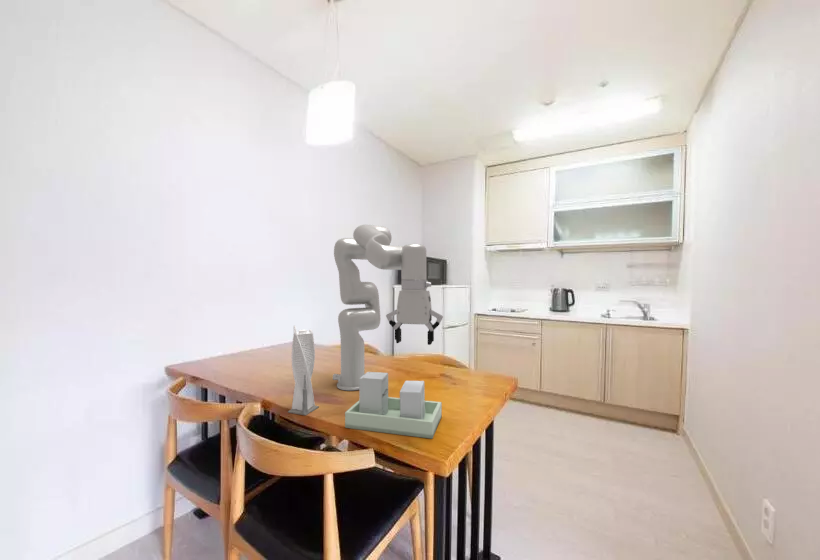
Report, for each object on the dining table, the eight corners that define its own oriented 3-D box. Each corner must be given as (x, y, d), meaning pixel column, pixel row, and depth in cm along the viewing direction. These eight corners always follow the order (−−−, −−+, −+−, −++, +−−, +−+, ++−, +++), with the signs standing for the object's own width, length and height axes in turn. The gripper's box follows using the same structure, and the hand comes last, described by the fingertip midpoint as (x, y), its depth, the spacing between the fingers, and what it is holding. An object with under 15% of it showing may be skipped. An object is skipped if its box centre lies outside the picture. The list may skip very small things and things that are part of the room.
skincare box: (405, 412, 104) (405, 379, 104) (425, 413, 103) (425, 380, 103) (399, 427, 93) (398, 390, 93) (421, 429, 92) (421, 392, 92)
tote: (345, 427, 96) (345, 412, 96) (365, 408, 110) (365, 394, 110) (432, 438, 89) (432, 422, 89) (441, 416, 103) (441, 402, 103)
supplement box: (382, 421, 97) (381, 379, 97) (358, 419, 99) (358, 377, 99) (388, 411, 105) (388, 372, 105) (367, 409, 106) (366, 371, 106)
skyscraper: (284, 411, 107) (284, 326, 107) (300, 403, 115) (300, 323, 115) (305, 415, 104) (305, 327, 104) (320, 406, 112) (320, 324, 112)
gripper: (444, 285, 99) (444, 342, 99) (390, 285, 104) (390, 339, 104) (440, 286, 92) (440, 347, 92) (382, 286, 96) (382, 344, 96)
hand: (414, 343), depth 98 cm, fingers open, 9 cm apart
